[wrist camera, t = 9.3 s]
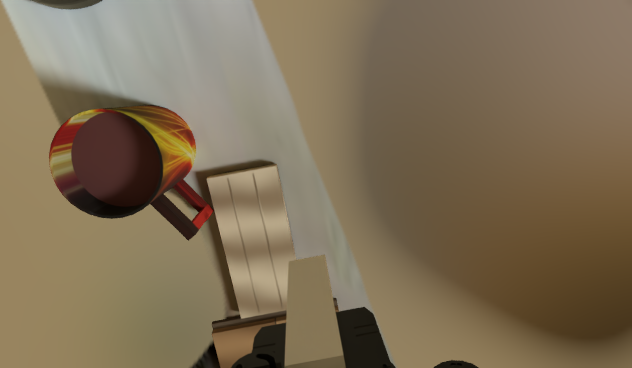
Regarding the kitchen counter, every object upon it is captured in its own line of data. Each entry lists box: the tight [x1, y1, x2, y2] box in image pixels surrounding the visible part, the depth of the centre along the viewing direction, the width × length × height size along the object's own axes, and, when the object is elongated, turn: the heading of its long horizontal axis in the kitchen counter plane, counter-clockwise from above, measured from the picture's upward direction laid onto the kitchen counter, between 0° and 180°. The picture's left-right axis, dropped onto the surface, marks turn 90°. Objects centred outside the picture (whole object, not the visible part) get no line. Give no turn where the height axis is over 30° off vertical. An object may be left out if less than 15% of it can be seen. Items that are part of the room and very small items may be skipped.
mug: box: [49, 105, 214, 240], centre depth 42 cm, size 10×14×12 cm
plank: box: [207, 164, 296, 319], centre depth 49 cm, size 18×8×2 cm, turn 10°
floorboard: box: [212, 298, 339, 368], centre depth 53 cm, size 11×16×2 cm
